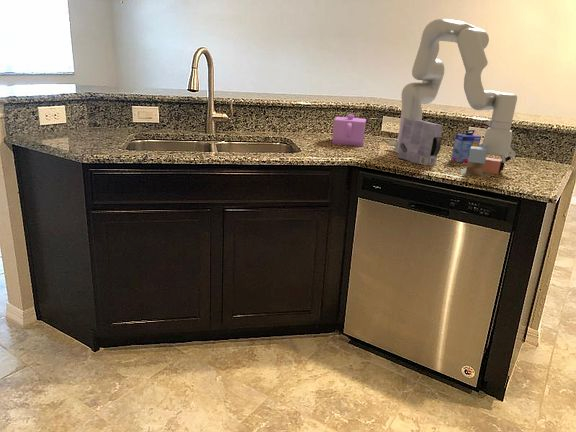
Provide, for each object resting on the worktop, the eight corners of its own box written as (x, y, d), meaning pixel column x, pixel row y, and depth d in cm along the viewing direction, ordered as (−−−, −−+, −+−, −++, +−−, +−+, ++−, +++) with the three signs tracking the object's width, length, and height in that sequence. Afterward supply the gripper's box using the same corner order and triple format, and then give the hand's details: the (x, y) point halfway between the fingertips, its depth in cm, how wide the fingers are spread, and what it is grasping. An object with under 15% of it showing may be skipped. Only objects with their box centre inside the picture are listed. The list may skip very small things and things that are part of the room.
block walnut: (465, 174, 183) (467, 161, 181) (466, 170, 188) (469, 158, 186) (481, 176, 180) (484, 163, 179) (482, 173, 185) (485, 160, 184)
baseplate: (459, 175, 184) (460, 173, 183) (461, 171, 190) (461, 169, 189) (487, 179, 180) (487, 177, 180) (488, 175, 186) (488, 173, 186)
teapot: (363, 139, 249) (366, 112, 244) (362, 148, 226) (366, 118, 221) (335, 137, 251) (337, 110, 246) (331, 145, 228) (333, 116, 223)
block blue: (467, 161, 181) (470, 148, 179) (469, 158, 186) (471, 146, 184) (484, 163, 178) (487, 150, 177) (485, 160, 184) (487, 148, 182)
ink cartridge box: (458, 164, 202) (464, 130, 197) (449, 161, 207) (455, 128, 202) (476, 163, 206) (482, 130, 201) (467, 160, 211) (473, 128, 206)
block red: (481, 172, 189) (484, 160, 187) (483, 169, 194) (485, 157, 192) (498, 174, 186) (500, 162, 184) (498, 171, 191) (501, 159, 190)
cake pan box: (438, 167, 195) (445, 124, 190) (429, 168, 193) (436, 124, 187) (404, 157, 211) (410, 117, 205) (396, 158, 208) (402, 117, 202)
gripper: (476, 124, 183) (467, 169, 190) (524, 129, 177) (514, 176, 183) (477, 121, 190) (469, 165, 196) (524, 127, 184) (514, 172, 190)
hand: (490, 170), depth 190 cm, fingers closed on block red, 6 cm apart
